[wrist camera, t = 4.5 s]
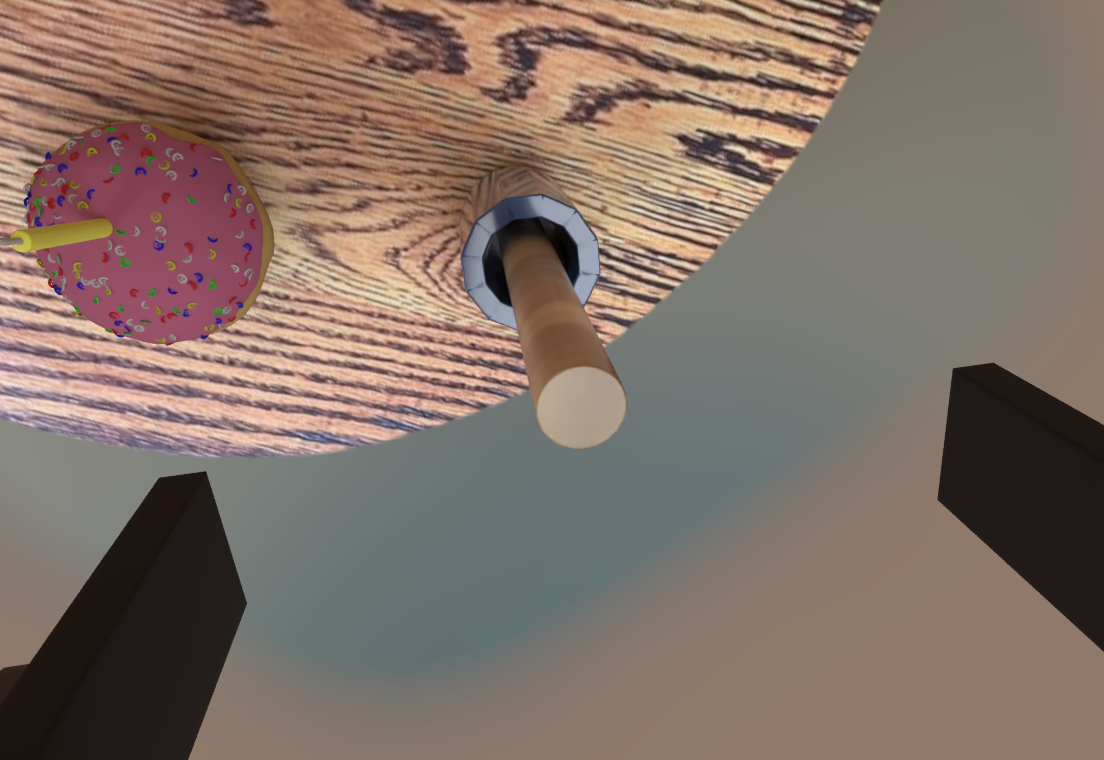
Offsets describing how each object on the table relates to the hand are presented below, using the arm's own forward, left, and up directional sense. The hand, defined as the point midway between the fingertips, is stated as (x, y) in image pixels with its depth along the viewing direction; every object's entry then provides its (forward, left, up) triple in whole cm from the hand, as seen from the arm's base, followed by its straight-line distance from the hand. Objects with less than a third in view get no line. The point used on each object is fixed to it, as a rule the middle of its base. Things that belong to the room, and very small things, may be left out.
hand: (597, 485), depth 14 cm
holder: (0, 0, -24) cm, 24 cm away
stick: (0, 0, -23) cm, 23 cm away
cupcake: (+14, -2, -24) cm, 28 cm away
